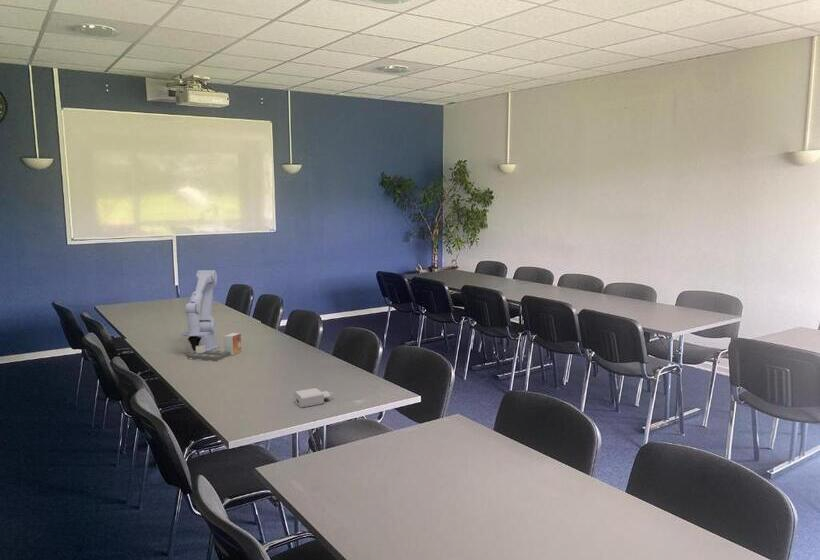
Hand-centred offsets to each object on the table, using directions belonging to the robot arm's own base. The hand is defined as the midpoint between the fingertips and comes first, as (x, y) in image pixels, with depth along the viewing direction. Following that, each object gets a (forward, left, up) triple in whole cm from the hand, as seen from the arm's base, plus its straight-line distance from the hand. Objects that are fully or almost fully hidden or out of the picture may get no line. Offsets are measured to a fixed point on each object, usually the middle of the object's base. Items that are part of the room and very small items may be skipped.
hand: (195, 350), depth 318 cm
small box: (-10, +16, -3) cm, 19 cm away
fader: (0, +3, -1) cm, 3 cm away
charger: (+49, +94, -4) cm, 106 cm away
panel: (0, +8, -3) cm, 9 cm away
